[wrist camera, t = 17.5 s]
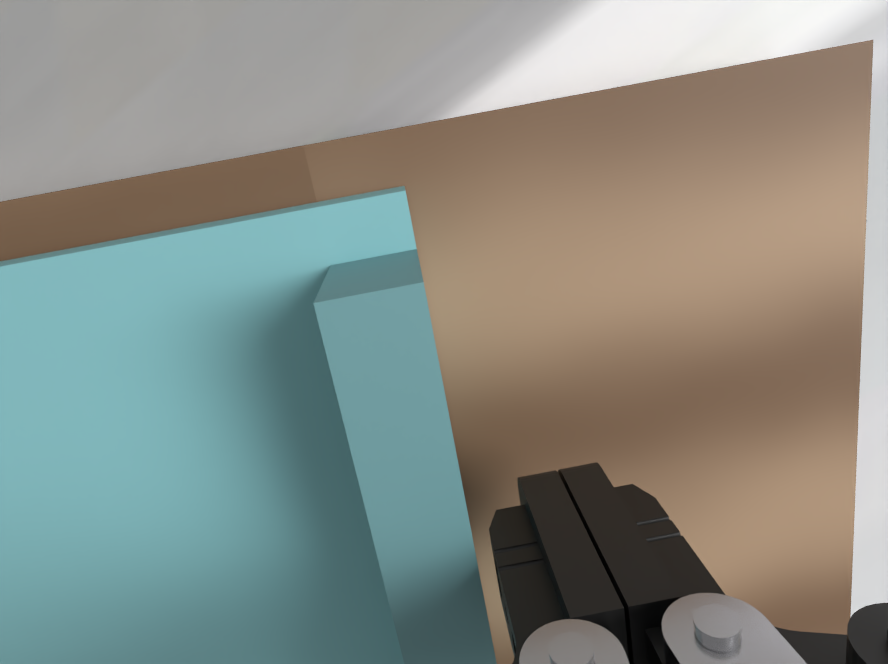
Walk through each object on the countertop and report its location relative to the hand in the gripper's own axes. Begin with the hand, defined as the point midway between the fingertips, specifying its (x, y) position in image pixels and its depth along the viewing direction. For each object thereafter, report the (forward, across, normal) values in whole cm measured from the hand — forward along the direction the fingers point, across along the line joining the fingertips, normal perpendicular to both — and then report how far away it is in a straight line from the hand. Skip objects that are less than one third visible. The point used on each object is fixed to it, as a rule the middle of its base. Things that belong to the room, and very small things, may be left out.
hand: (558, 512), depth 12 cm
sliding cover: (+2, +7, 0) cm, 7 cm away
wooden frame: (+5, +4, 0) cm, 6 cm away
